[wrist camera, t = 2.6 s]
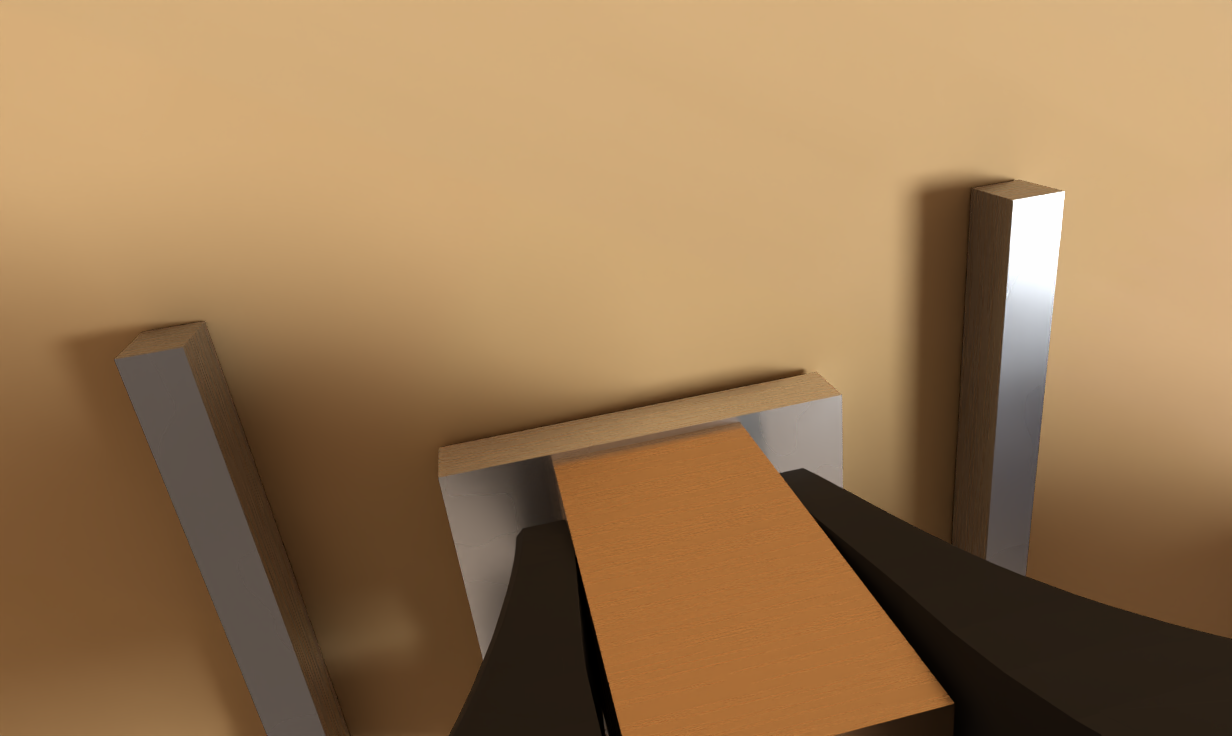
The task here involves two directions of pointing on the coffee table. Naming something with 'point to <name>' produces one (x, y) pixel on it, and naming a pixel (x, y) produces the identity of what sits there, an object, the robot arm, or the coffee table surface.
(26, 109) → the coffee table surface
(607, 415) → the l-shaped block holder
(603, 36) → the coffee table surface
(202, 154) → the coffee table surface
